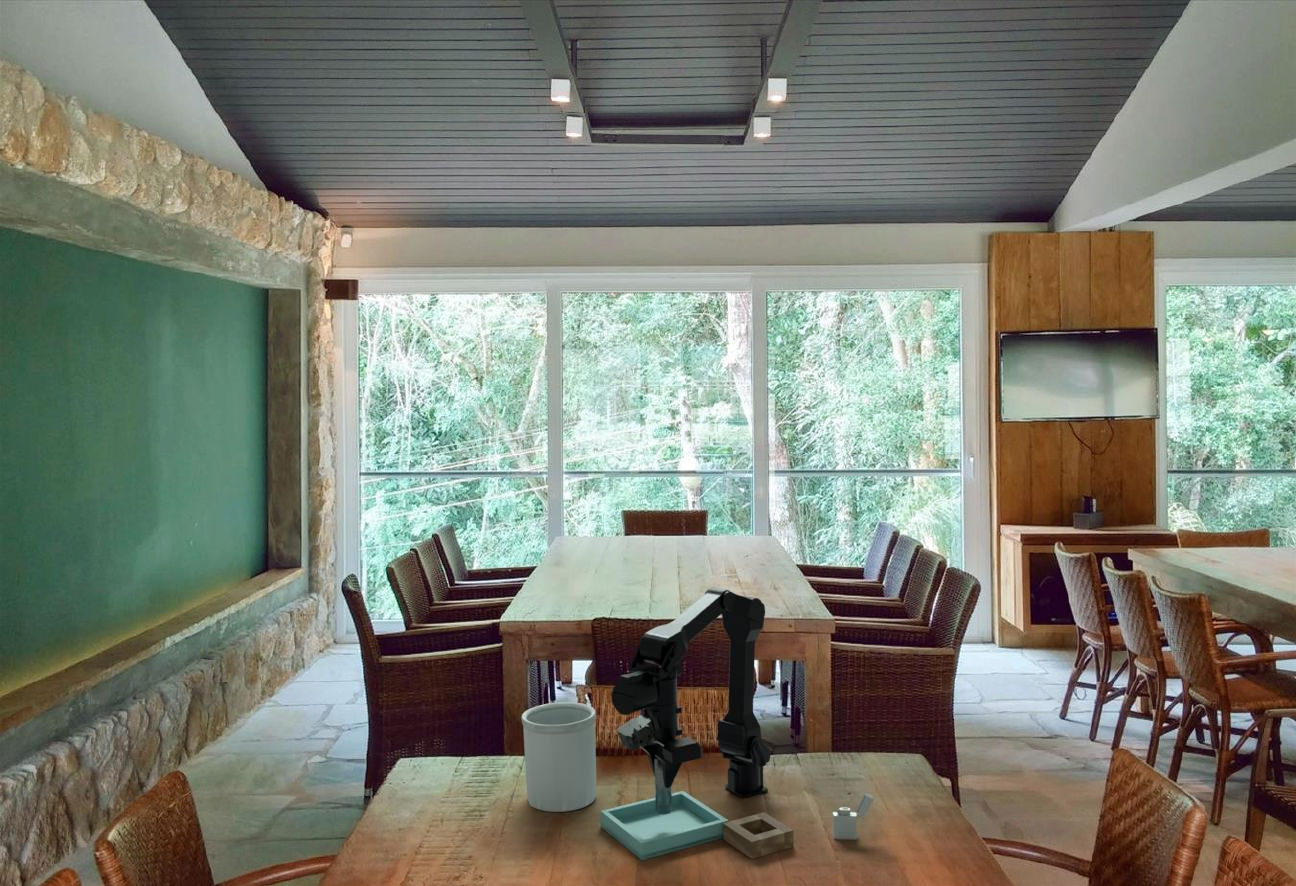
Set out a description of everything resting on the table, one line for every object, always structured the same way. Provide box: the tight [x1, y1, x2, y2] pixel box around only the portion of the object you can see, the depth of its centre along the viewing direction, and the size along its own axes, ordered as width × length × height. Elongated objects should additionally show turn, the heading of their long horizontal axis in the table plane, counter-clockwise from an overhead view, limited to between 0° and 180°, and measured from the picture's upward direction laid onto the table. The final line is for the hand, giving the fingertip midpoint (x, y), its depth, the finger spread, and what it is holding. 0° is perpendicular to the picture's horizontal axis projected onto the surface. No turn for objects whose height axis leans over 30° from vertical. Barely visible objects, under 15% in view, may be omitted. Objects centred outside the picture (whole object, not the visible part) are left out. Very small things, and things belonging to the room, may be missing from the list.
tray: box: [600, 790, 729, 861], centre depth 188 cm, size 18×16×3 cm
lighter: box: [832, 792, 874, 840], centre depth 184 cm, size 7×2×8 cm, turn 85°
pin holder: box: [722, 812, 795, 860], centre depth 183 cm, size 9×9×3 cm
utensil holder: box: [521, 701, 597, 813], centre depth 204 cm, size 15×15×18 cm
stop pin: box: [654, 757, 673, 814], centre depth 188 cm, size 3×3×10 cm
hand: (663, 784), depth 188 cm, fingers closed on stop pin, 3 cm apart
